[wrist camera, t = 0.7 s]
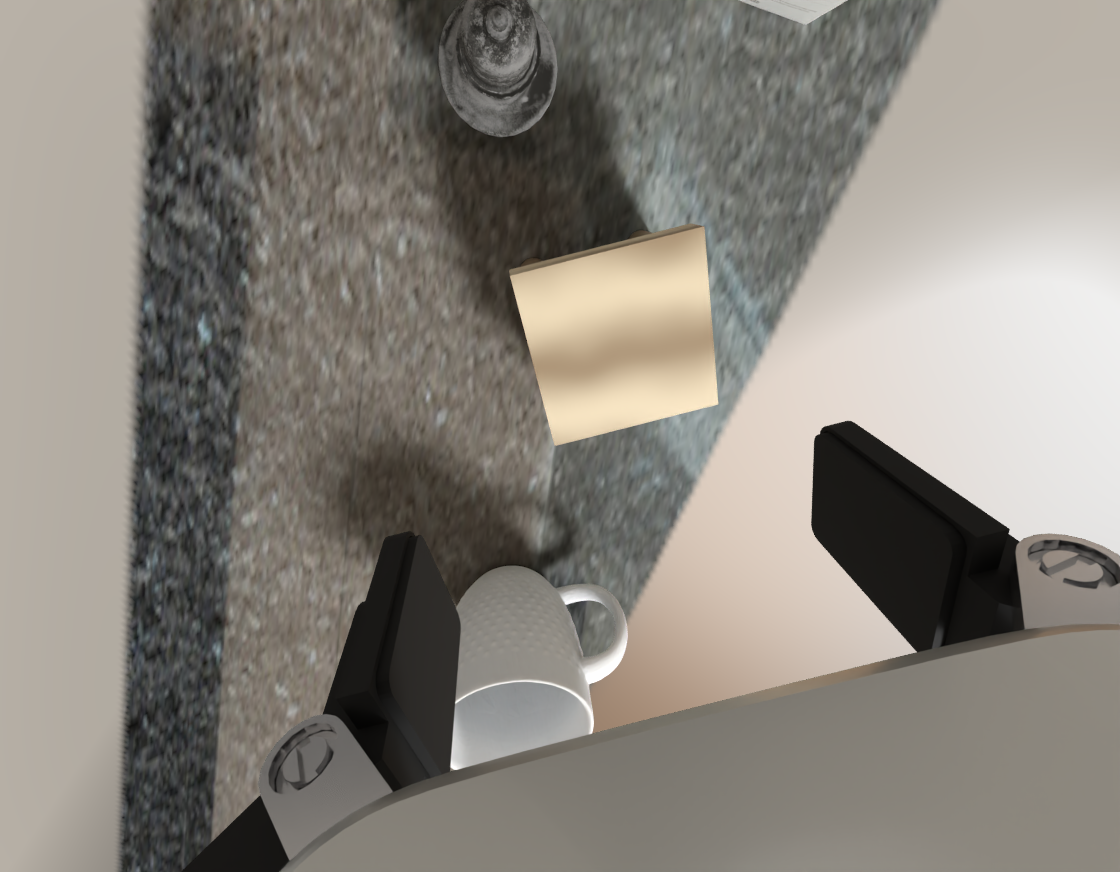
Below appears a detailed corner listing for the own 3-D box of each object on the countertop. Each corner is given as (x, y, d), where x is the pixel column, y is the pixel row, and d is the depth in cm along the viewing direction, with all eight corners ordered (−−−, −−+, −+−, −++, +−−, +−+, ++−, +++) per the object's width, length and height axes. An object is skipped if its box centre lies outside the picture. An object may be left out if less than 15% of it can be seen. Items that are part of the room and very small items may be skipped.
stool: (507, 255, 32) (509, 275, 25) (658, 217, 32) (704, 226, 25) (543, 395, 36) (554, 445, 29) (675, 361, 36) (718, 404, 29)
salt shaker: (428, 30, 26) (381, -74, 16) (535, -1, 26) (560, -127, 16) (465, 154, 29) (446, 136, 18) (561, 126, 29) (599, 93, 18)
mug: (591, 513, 42) (627, 639, 30) (623, 601, 47) (664, 738, 35) (427, 568, 42) (400, 712, 31) (476, 649, 48) (469, 799, 36)
